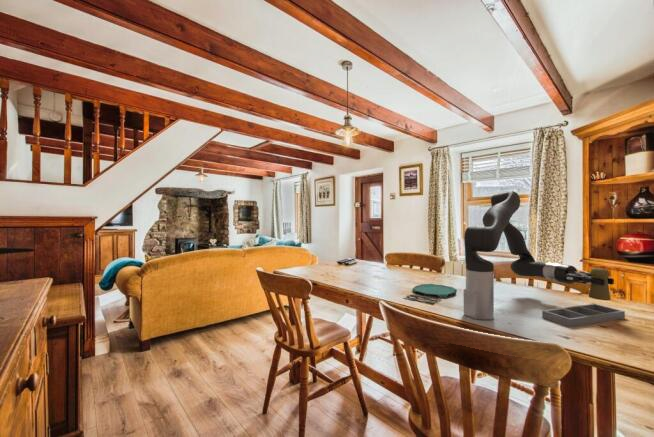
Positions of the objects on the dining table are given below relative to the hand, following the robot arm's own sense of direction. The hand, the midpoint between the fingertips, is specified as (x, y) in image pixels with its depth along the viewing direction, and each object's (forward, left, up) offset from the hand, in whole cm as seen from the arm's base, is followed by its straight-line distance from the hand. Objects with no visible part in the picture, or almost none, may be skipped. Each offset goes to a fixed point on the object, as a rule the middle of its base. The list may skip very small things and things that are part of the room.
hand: (608, 282), depth 106 cm
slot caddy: (-9, +3, -13) cm, 16 cm away
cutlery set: (-42, +46, -14) cm, 64 cm away
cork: (0, +3, -7) cm, 7 cm away
